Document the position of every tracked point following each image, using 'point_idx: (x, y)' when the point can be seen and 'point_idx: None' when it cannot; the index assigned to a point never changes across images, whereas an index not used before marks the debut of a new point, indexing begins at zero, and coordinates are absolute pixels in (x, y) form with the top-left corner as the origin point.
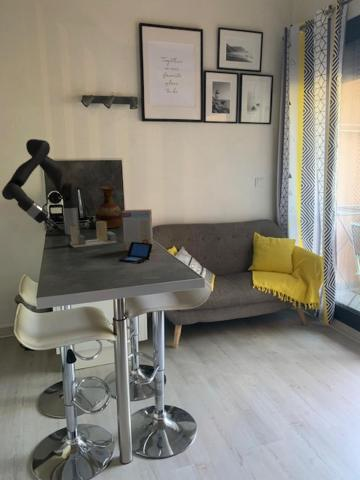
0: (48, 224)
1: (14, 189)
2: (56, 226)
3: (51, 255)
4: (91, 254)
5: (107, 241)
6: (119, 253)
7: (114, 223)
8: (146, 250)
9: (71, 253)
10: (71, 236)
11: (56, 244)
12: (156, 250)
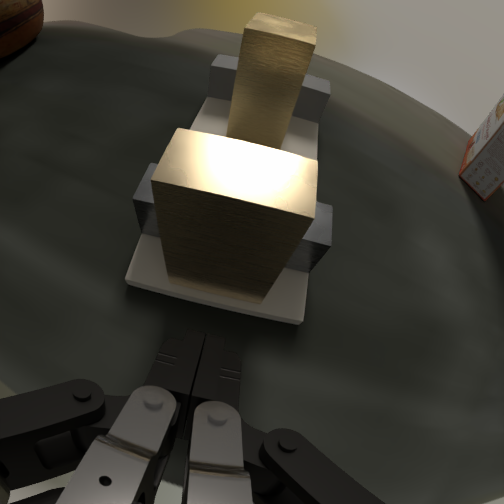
0: (5, 492)
1: None
2: (294, 471)
3: (427, 495)
4: (493, 311)
5: (302, 128)
6: (498, 227)
7: (35, 28)
8: None
9: (449, 389)
10: (194, 263)
11: (61, 365)
12: None
